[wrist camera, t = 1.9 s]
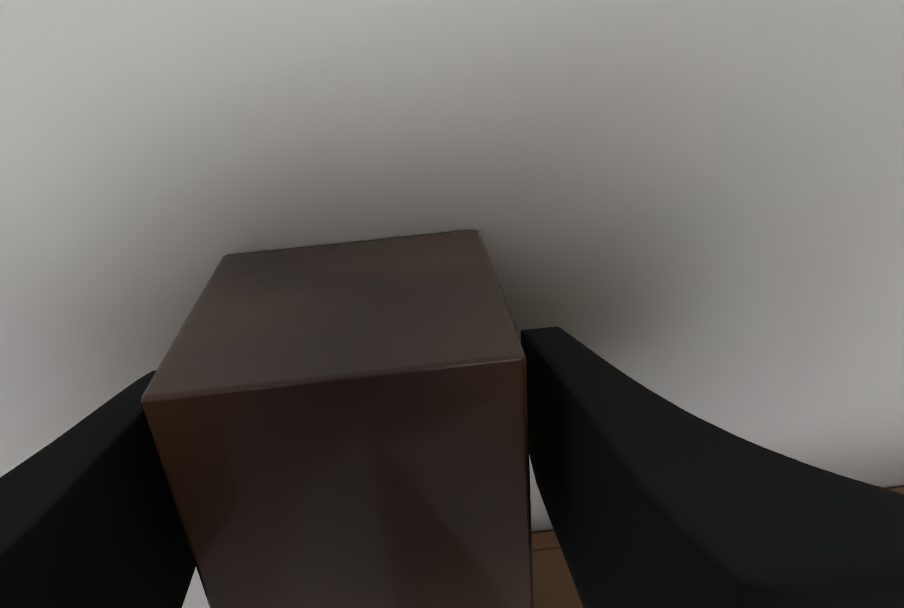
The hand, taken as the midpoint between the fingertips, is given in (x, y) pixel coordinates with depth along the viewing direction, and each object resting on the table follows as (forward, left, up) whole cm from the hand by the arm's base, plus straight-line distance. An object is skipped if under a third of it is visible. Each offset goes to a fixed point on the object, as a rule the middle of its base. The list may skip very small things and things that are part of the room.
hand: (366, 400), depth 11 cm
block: (0, 0, -2) cm, 2 cm away
